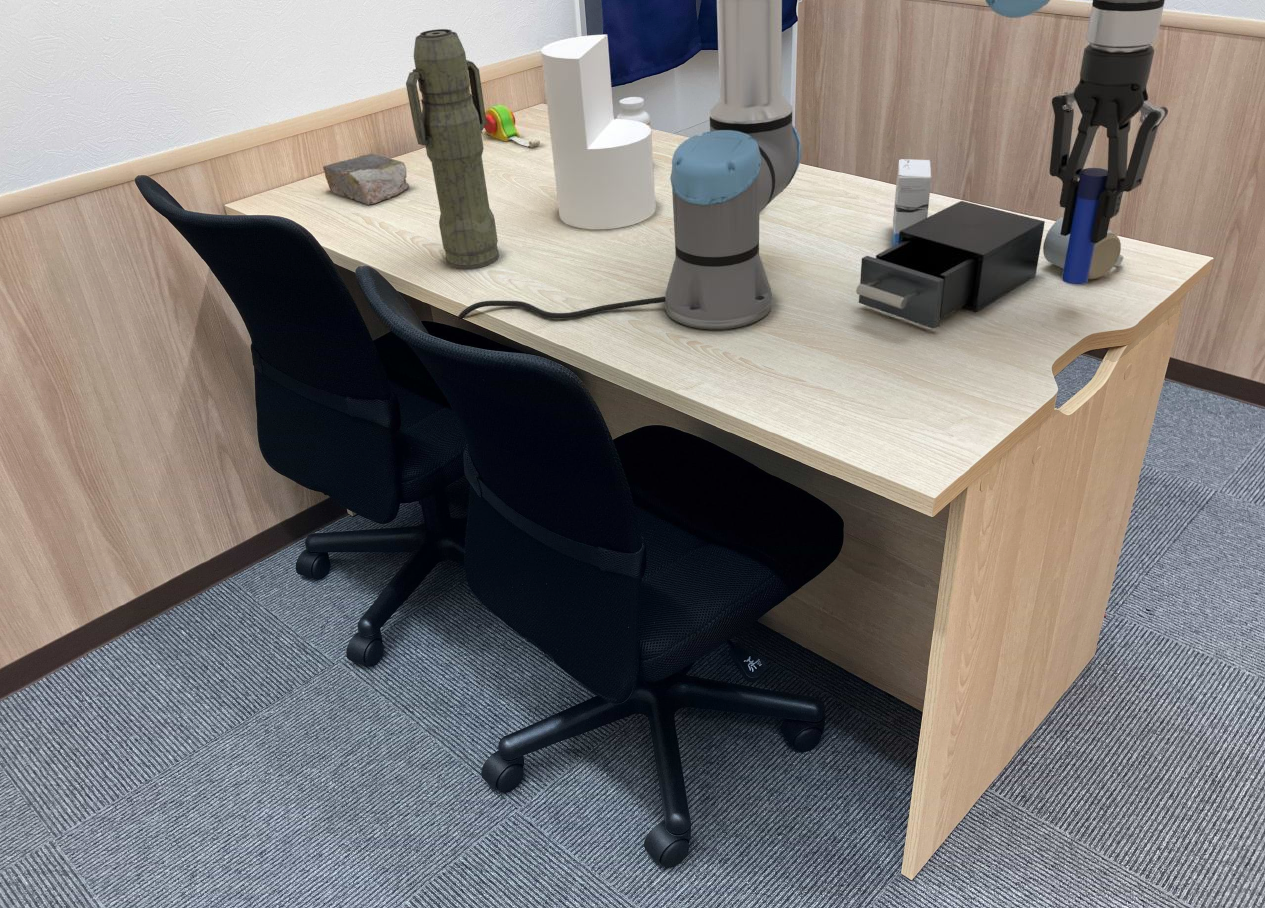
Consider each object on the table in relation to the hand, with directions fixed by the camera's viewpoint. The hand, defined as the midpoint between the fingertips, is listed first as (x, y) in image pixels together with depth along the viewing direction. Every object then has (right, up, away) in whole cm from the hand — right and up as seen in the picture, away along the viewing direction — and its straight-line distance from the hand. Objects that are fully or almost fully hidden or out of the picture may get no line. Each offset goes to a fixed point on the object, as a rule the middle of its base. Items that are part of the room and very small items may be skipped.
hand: (1083, 235), depth 129 cm
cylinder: (-63, +15, +49) cm, 81 cm away
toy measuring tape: (-85, +41, +90) cm, 131 cm away
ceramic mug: (+8, -1, +17) cm, 18 cm away
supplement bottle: (-58, +29, +68) cm, 94 cm away
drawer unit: (-10, -3, +16) cm, 19 cm away
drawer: (-19, -7, +9) cm, 22 cm away
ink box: (-14, +6, +30) cm, 34 cm away
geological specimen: (-110, +23, +67) cm, 131 cm away
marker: (0, -5, +3) cm, 6 cm away
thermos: (-85, +4, +35) cm, 92 cm away
